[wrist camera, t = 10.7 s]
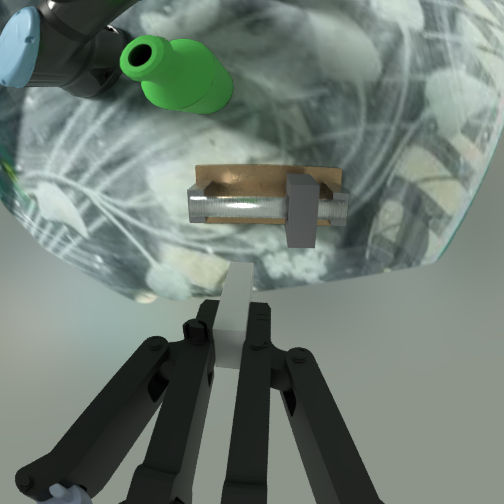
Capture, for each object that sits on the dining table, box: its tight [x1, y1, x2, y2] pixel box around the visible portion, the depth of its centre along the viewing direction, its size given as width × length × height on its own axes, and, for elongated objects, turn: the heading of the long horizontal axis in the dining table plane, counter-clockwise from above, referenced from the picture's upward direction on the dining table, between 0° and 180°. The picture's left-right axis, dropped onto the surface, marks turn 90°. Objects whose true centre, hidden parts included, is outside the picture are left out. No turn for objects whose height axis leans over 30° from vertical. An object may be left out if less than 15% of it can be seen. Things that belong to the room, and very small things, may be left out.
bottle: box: [120, 35, 233, 114], centre depth 27 cm, size 9×9×25 cm
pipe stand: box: [187, 164, 349, 227], centre depth 41 cm, size 24×10×10 cm, turn 90°
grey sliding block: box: [285, 173, 320, 248], centre depth 38 cm, size 4×8×8 cm, turn 0°
